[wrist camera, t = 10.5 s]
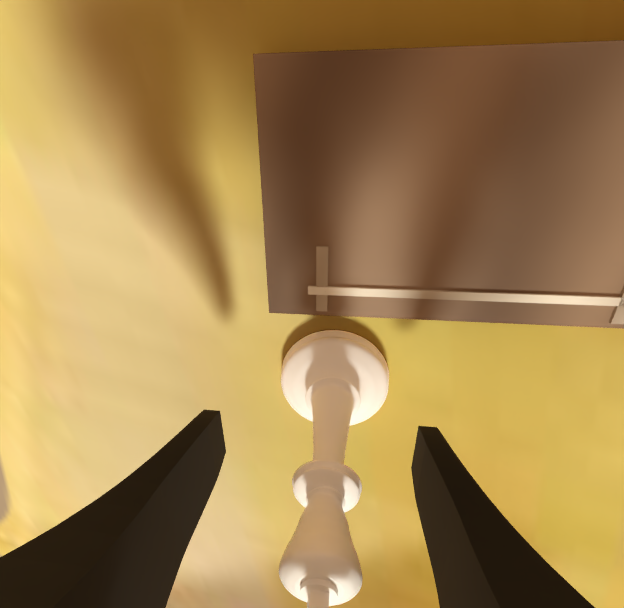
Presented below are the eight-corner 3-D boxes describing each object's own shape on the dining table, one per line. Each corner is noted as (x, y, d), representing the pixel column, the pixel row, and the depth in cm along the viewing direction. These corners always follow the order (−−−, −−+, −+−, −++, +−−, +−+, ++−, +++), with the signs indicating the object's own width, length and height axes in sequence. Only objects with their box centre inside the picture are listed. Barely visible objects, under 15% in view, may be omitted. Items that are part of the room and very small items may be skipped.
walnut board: (928, 46, 9) (1045, 23, 7) (760, 316, 12) (817, 338, 10) (266, 68, 10) (252, 52, 9) (277, 297, 14) (268, 313, 12)
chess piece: (288, 320, 14) (176, 611, 5) (401, 340, 14) (499, 684, 5) (276, 406, 16) (181, 726, 7) (374, 425, 16) (407, 779, 7)
